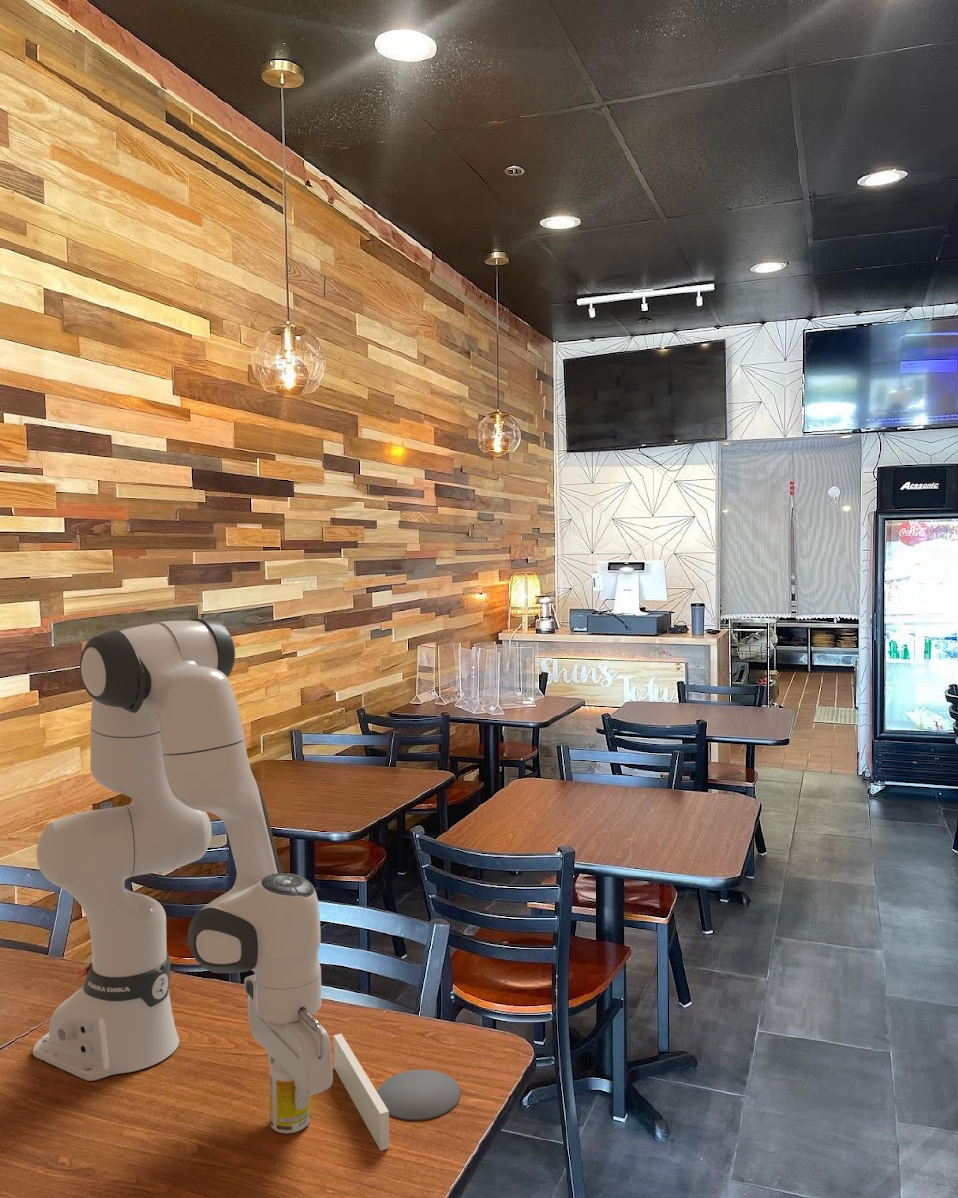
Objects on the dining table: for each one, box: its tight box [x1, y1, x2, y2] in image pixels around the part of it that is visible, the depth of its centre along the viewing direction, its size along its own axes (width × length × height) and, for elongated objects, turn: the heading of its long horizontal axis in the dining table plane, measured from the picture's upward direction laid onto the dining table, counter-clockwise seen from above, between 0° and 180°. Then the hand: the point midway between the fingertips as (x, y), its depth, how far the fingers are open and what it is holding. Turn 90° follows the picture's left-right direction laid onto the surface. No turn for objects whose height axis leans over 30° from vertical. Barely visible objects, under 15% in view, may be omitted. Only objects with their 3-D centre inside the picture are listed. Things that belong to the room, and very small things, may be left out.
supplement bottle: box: [268, 1054, 312, 1135], centre depth 125 cm, size 6×6×10 cm
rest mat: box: [377, 1069, 461, 1121], centre depth 132 cm, size 12×12×1 cm
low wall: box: [333, 1033, 390, 1152], centre depth 130 cm, size 22×1×5 cm, turn 25°
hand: (289, 1094), depth 126 cm, fingers closed on supplement bottle, 5 cm apart
